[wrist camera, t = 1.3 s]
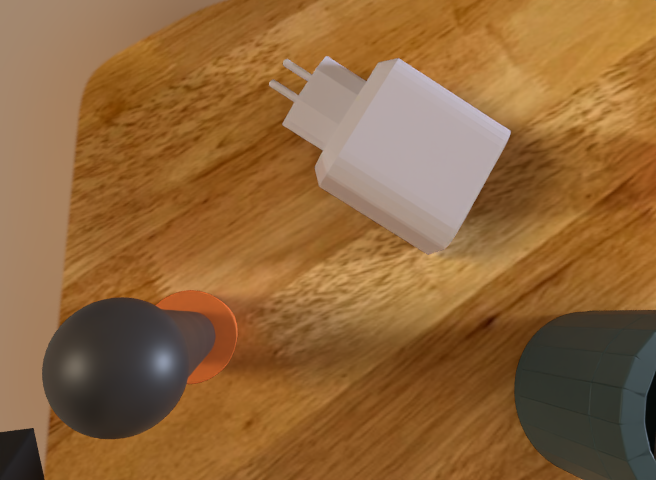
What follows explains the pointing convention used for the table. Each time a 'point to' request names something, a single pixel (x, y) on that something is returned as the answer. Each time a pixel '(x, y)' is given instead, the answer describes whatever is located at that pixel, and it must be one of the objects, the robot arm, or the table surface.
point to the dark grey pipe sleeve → (592, 393)
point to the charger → (396, 146)
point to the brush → (134, 360)
